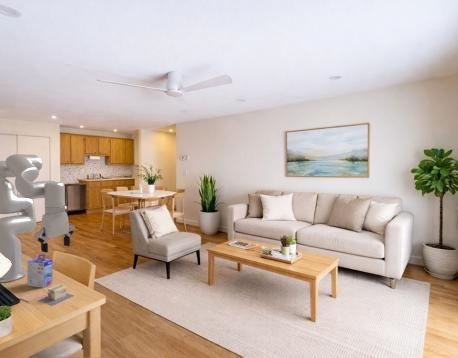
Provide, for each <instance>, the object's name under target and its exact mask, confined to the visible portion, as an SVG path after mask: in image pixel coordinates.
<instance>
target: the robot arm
mask: <svg viewBox="0 0 458 358" xmlns="http://www.w3.org/2000/svg"><path fill="white" fill-rule="evenodd" d="M42 168H43V160H42V159H41V157H40V156H38V155H36V154H12V155H9V156H8V157H6V158H5V160H0V215H11V214H18V215H11V216H5V217H1V218H0V252H1V253H2V254H3V255H4V256H5V257H6V258H8V259H9V260H10V261H11V263H12V266H11V268H10V270H9V271H8V272H7V273H6V274H5V275H4V276H3V277H2V278H0V283H8V282H13V281H17V280H19V279H22V278H23V277H25V276H26V273H27V271H25V270H23V268H22V267H23V264H22V262H23V260H22V242H21V240H20V238H18V237H17V236H16V235H18V234H23V233H24V234H25V233H29V232H32V231H34V230H35V229H36V228H37V218H36V216H37V215H36V210H35V204H34V200H35V199H36V200H37V199H44V214H42V216H41V223H40V230H38V231H36V232H35V233H34V234H33V237H34V238H35V240H36V241H37V242H39V243H40V249H41V252H42V253H48V252H49V243H48V241H49V239H50V238H51V239H52V238H57V237H60V236H63V246H65V247H70V246H71V245H70V244H71V237H72V235H73V234H74V232H75V229H76V226H75V225H72V224H70V223H69V216H68V212H67V211H66V210H68V206H67V205H66V193H65V192H66V191H65V189H66V186H65V184H64V182H60V181H55V180H38V181H37V180H36V179H37V178H38V177H39V176H40V171H41V170H42ZM7 178H15V179H14V184H13V183H12V182H11V181H10V180H9V179H7ZM35 180H36V181H35ZM15 189H16V191H17V193H19V194H16V193H15V192H16V191H15ZM19 213H21V214H19Z"/></svg>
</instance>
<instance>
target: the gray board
mask: <svg viewBox="0 0 458 358" xmlns="http://www.w3.org/2000/svg"><path fill="white" fill-rule="evenodd" d="M73 297H75V295H74V294H70V293H67V292H66V296H64V297H61V298H59V299H57V300H53V299H50V298H48V295H46V296H44V297H41V298H39V299H37V301H38V302H40V303H43V304H45V305H47V306H51V307H53V306H56V305H58V304H60V303H61V302H64V301H66V300H68V299H70V298H73Z"/></svg>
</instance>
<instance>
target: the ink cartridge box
mask: <svg viewBox="0 0 458 358" xmlns="http://www.w3.org/2000/svg"><path fill="white" fill-rule="evenodd" d="M53 262H54V261H53V259H51V258H46V254H42V253H40V254H39V255H38V257H36V258H32V259H30V260H28V261H27V262H26V263H27V264H26V265H27V271H26V273H27V279H26V280H27V282H26V283H27V287H36V288H41V289H42V288H43V289H44V288H46V287H48V286H50V285H52V284H53V282H54V281H53V280H54V277H53V274H54V273H53V266H54V265H53V264H54V263H53Z"/></svg>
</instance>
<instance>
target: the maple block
mask: <svg viewBox="0 0 458 358" xmlns="http://www.w3.org/2000/svg"><path fill="white" fill-rule="evenodd" d="M66 293H67V286H65V285H62V284H57V285H55V286H51V287H49V288H47V296H48V298H50V299H53V300H57V299H59V298H61V297H64V296H66Z"/></svg>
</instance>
